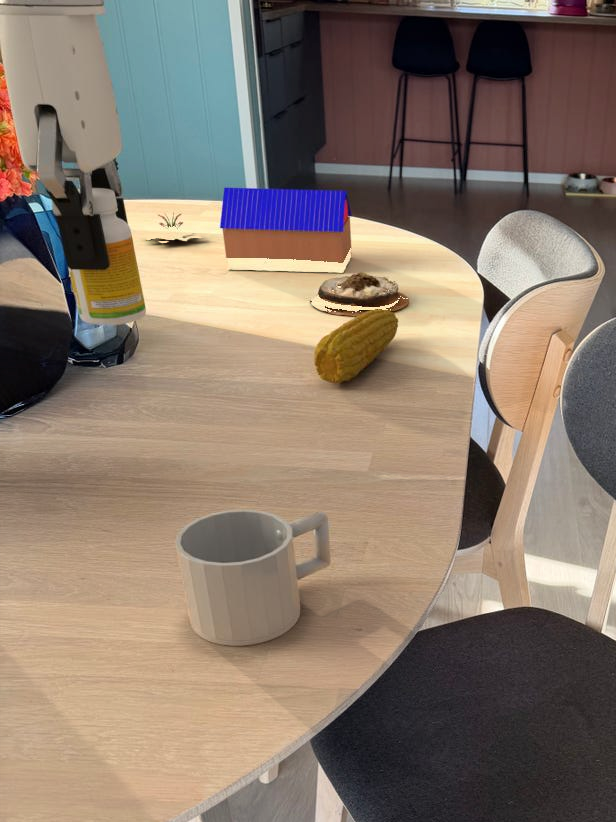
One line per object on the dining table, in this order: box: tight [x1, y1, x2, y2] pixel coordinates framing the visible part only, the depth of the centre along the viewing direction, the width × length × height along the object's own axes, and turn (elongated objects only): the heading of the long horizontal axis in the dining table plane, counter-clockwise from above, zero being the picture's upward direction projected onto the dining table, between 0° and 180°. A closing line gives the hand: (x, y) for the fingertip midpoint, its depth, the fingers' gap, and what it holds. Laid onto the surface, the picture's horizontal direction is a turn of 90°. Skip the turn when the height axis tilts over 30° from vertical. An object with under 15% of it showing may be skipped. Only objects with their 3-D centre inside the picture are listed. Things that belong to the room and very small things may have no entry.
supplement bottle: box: [67, 188, 147, 326], centre depth 76 cm, size 5×5×10 cm
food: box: [313, 309, 399, 384], centre depth 118 cm, size 21×6×6 cm, turn 166°
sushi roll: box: [309, 271, 410, 317], centre depth 141 cm, size 15×15×4 cm
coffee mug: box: [174, 508, 332, 647], centre depth 72 cm, size 12×8×7 cm
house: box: [219, 187, 353, 263], centre depth 156 cm, size 12×20×12 cm, turn 89°
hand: (101, 256), depth 76 cm, fingers closed on supplement bottle, 5 cm apart
